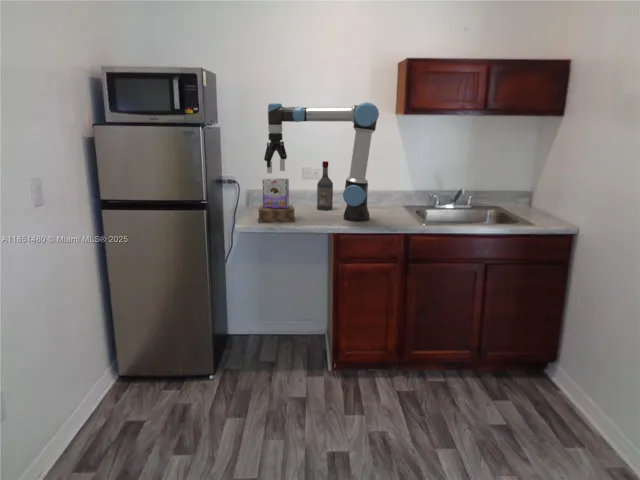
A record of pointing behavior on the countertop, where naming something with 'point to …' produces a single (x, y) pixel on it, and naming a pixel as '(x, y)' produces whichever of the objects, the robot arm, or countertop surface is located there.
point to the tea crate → (276, 214)
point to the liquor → (324, 190)
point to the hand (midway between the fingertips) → (276, 172)
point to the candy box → (275, 193)
